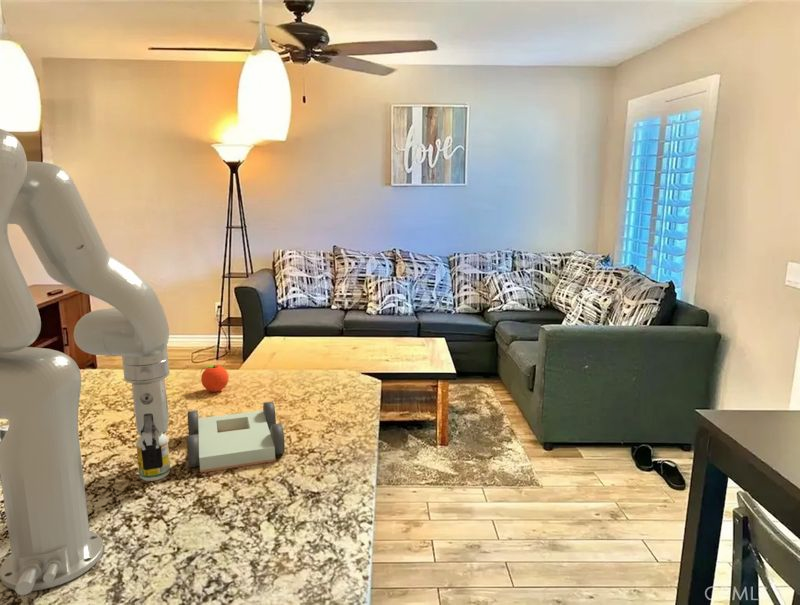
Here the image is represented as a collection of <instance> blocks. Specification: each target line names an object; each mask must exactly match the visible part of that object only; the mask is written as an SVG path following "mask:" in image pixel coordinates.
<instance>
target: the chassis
mask: <svg viewBox="0 0 800 605" xmlns="http://www.w3.org/2000/svg"><path fill="white" fill-rule="evenodd" d="M262 404H263V405H262V406H263V407H262V408H263V409H262V410H256V411H255V410H254V411H248V412H247V411H246V412H240V413H239V412H237V413H233V414H232V413H231V414H224V415H223V414H222V415H215V416H207V417H199V410H197V409H196V410H187V430H188V435H186V443H187V444H186V448H187V452H186V453H187V462H188V463H187V464H188V468H195V467H199V472H200V473H207V472H213V471H219V470H221V471H222V470H227V469H235V468H239V466H241V467H247V466H253V464H254V465H258V464H259V463H261V464H266V463H265V462H267V463H272V462H271V461H274V462H276V455H283V454H285V452H286V451H285V449H286V446H285V443H286V442H285V433H284V428H283V424H282V423H277V422H276V421H277V418H276V409H275V403H274V401H266V402H263V403H262ZM246 465H247V466H246Z"/></svg>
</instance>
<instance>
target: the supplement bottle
mask: <svg viewBox="0 0 800 605" xmlns="http://www.w3.org/2000/svg"><path fill="white" fill-rule="evenodd" d="M154 430H156V429H152V431H154ZM153 438H155V435H154V436H153ZM159 446H161V450H162V460H163V466H162V467H161V468H156V469H150V470H144V469H143V460H142V450H141V449H142V436H140V437H139V438H138V439H137V440H136V454H137V456H136V457H137V464H138V466H137V467H138V474H139V478H140V479H141V480H144V482H145V481H146V482H150V481H151V482H153V481H159V480H162V479H164V478H166V477H167V476H168V475H169V474H170V473H171V464H170V453H169V452H170V451H169V439H168V436H167V435H166V433H165V434H163V432H161V433H159Z"/></svg>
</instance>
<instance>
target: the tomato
mask: <svg viewBox="0 0 800 605" xmlns="http://www.w3.org/2000/svg"><path fill="white" fill-rule="evenodd" d="M203 369H204V371H203ZM202 371H203V372H202ZM199 372H200V374H201V376H200V378H201V385H202V386H203V388H204V389H206V390H207V391H209V392H213V393H217V392H221V391H222V390H223V389H224V388H226V386H227V385H228V383H229V379H230V378H229V373H228V371H227V370H226V369H225V367H223V366H221V365H216V364H215V365H207V366H205V367H202V368H201V370H200V371H199Z"/></svg>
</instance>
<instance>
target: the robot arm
mask: <svg viewBox="0 0 800 605" xmlns="http://www.w3.org/2000/svg"><path fill="white" fill-rule="evenodd" d="M8 225H18V227H20V228H21V229H20V230H22V232H23V234H24V235H25V236H26V239H27V241H28V242H29V244H30V246H31V247H32V249H33V250H34V252H35V254H36V256H37V258H38V259H39V261H40V262H41V265H42V267H44V270H45V272H46V273H47V275H48V276H49V277H50V278H51V279H52V280H54V281H56V282H57V283H59V284H61V285H64V286H66V287H69V288H70V289H73V290H75V291H78V292H80V293H83V294H86V295H88V296H91V297H93V298H97V299H98V300H101V301H103V302H105V303H106V304H108V305H110V306H111V307H112V308H110V307H109V308H103V309H96V310H92V311H89V312H88V313H86V314H84V315H82V316H81V317H80V318H79V319H78V321H77V322H76V324H75V326H74V330H73V339H74V342H75V344H76V346H77V347H78V348H79V349H80V350H81V351H83V353H85V354H90V355H94V356H105V357H107V356H108V357H121V358H122V360H121V362H122V369H123V370H122V371H123V379H124V381H125V382H126V383H129V384H131V388H132V400H133V408H134V417H135V423H136V431H137V435H139V436H140V437H141V436H142V449H141V450H142V460H143V469H144V470H150V469H156V468H161V467H162V466H163V460H162V450H161V446H159V433H161V432H163V434H165V435H166V433H167V431H168V428H169V419H170V416H169V415H170V413H169V405H168V398H167V387H166V382H165V379H167V378H168V377H169V375H170V364H169V352H168V343H169V339H170V326H169V322H168V319H167V316H166V314H165V310H164V307H163V305H162V303H161V301H160V300H159V297H158V295H157V294H156V291H154V289H153V288H152V286H151V285H150V284H149V283H148V282H147V281H146V280H145V279H144V278H142V277H141V276H140V275H139V274H138V273H136V272H135V271H134V270H133V269H132V268H130V267H129V266H128V265H127V264H125V263H124V262H123V261H121V260H120V259H118V258H117V257H114V255H112V254H111V253H110V252H109V251H108V250H107V248H106V247H105V246H106V245H105V244H104V242H103V240H102V238H101V236H100V234H99V232H98V230H97V229H98V228H96V225H95V223H94V221H93V219H92V216H91V215H90V212H89V210H88V209H87V207H86V204H85V202H84V200H83V198H82V196H81V194H80V192H79V189H78V188H77V185H76V184H75V182H74V180H73V178H72V176H70V174H69V173H68V172H67V171H66V170H65V169H64V168H62V167H61V166H58V165H56V164H53V163H50V162H44V161H34V160H33V161H31V160H30V161H28V159H27V154H26V151H25V148H24V147H23V145H22V143H21V142H20V140H19V139H18V137H16V136H15V135H13V134H12V133H11V132H9V131H7V130H5V129H2V128H0V419H3V420H7V421H8V428H7V430H6V433H5V435H4V436H3V438H2V439H1V442H0V482H1V489H2V497H3V504H4V510H5V517H6V524H7V531H8V539H9V544H10V545H9V546H10V552H11V553H10V554H9V555H8V556H7V557H6V559H4V561H3V562H2V564H1V566H0V581H1V583H2V584H3V585H4V586H5V587H6V588H8V589H10V590H13V591H15V593H16V594H17V595H20V596H25V595H28V594H30V593H31V592H35V591H42V590H46V589H51V588H54V587H57V586H61V585H63V584H66V583H68V582H70V581H72V580H75V579H76V578H78V577H80V576H81V575H83V574H85V573H86V572H88V571H89V570H90V569H91V568H92V567H94V566H95V565H96V564H97V563H98V562H99V560H100V559H101V557H102V555H103V553H104V541H103V539H102V537H101V535H99V534H98V533H96V532H94V531H91V530H90V524H89V515H88V506H87V498H86V497H87V496H86V487H85V481H84V480H85V479H84V478H85V477H84V470H83V468H84V467H83V461H82V453H81V443H80V433H79V431H80V430H79V409H80V408H79V406H80V396H81V389H82V374H81V369H80V368H79V366H78V364H77V362H76V361H75V360H74V359H73V358H72V357H71V356H70V355H68V354H66V353H65V352H62V351H59V350H55V349H52V348H44V347H34V346H30V345H32V344H33V343H34V342H35V341H36V340H37V339H38V337H39V335H40V333H41V328H42V321H41V316H40V312H39V308H38V306H37V303H36V301H35V299H34V296H33V294H32V292H31V290H30V288H29V286H28V284H27V283H28V282H27V281H26V278H25V276H24V274H23V272H22V270H21V268H20V265H19V263H18V261H17V259H16V257H15V254H14V251H13V249H12V246H11V244H10V241H9V234H8ZM152 429H156V430H154V431H152ZM154 435H155V438H153V436H154Z"/></svg>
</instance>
